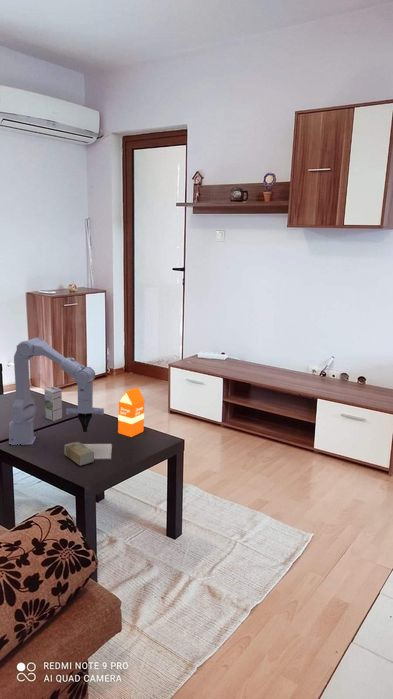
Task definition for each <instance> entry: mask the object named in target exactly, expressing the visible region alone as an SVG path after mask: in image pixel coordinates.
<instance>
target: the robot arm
mask: <svg viewBox="0 0 393 699" xmlns="http://www.w3.org/2000/svg"><path fill="white" fill-rule="evenodd" d="M38 356H39V357H41V356H42V357H43V356H44V357H46V358H47V359H49V360H51V361H52V362H54V363H56V364H58V365H60V368H61V370H62V371H63V372H65V373H66V374H67V375H69V376H71V377H72V378H74V381H75V382H76V384H77V407H70V408H69V407H66V409H65V414H66V416H67V415H77V419H78V420H79V422H80V424H81V428H82V432H83V433H87V432H88V427H89V424H90V421H91V419H92V416H93V415H101V416H104V415H105V408H102V407H100V408H99V407H94V406H93V404H94V402H93V401H94V400H93V399H94V396H93V395H94V390H93V388H94V387H93V385H94V384H93V383H94V382H93V381H94V380H95V378H96V372H95V370H94V369H93V368H92V367H90V366H85V364H81V363H79V362H78V361H76V359H75V358H74V357H70V356H69V357H65V356H64V355H62V354H61V353H59V352H58V351H57V350H56V349H54V348H53V347H52V346H50V345H49V344H48V343H47V341H46V340H44V339H43V338H41V337H39V336H37V337H36V336H35V337H34V338H31V339H27V340H23V341H20V342H19V343H18V344H17V345H16V351H15V353H14V356H13V364H14V365H13V366H14V382H15V384H14V385H15V398H16V399H15V400H14V402H13V403H12V406H11V407H12V410H11V413H10V419H11V420H10V421H9V424H8V445H9V444H11V445H10V446H21V445H22V446H24V445H25V446H26V445H27V446H31V445H34V442H35V441H36V438H37V437H36V435H34V419H35V416H36V415H37V407H36V404H35V399H33V398H31V387H30V386H31V384H30V383H31V382H30V366H29V361H30V360H31V359H32V358H33V357H38ZM17 444H18V445H17ZM20 444H21V445H20Z"/></svg>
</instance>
